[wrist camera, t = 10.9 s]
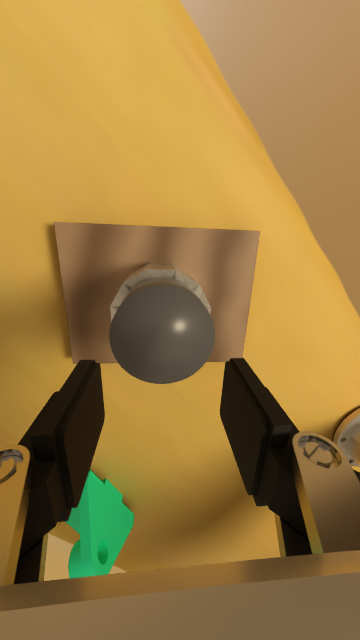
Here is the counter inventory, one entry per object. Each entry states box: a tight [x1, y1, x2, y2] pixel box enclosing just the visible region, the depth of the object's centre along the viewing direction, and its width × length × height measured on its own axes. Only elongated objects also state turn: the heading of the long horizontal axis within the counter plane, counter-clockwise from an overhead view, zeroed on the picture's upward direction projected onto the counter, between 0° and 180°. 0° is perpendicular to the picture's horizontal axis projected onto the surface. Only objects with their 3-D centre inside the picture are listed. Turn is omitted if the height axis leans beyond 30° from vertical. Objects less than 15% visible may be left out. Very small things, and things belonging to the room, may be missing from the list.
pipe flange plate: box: [54, 222, 260, 364], centre depth 22 cm, size 20×15×8 cm
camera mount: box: [65, 470, 134, 578], centre depth 31 cm, size 12×8×10 cm, turn 28°
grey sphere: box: [109, 277, 215, 384], centre depth 18 cm, size 7×7×7 cm
